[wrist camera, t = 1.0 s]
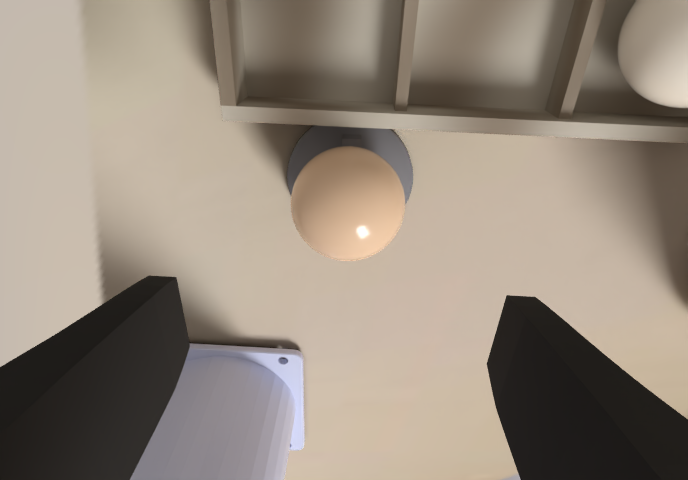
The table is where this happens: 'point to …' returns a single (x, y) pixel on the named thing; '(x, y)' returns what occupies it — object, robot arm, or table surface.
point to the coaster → (367, 138)
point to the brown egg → (347, 203)
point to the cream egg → (656, 51)
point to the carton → (435, 67)
